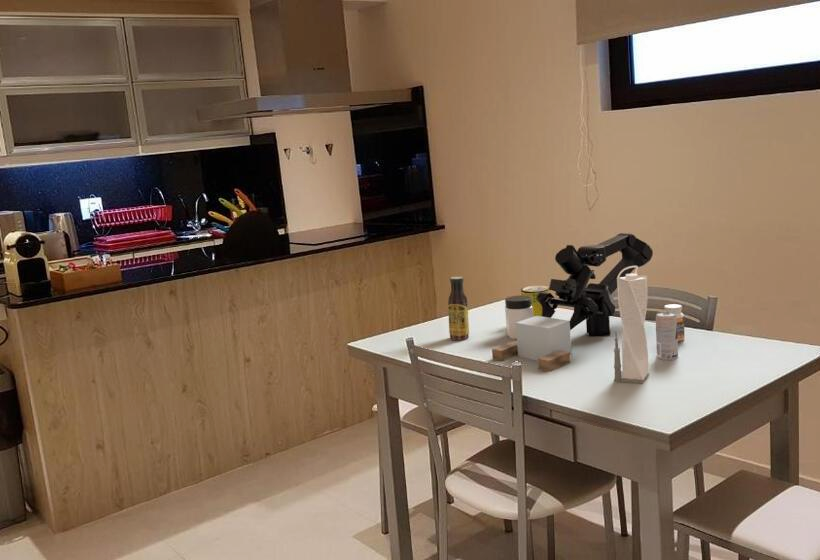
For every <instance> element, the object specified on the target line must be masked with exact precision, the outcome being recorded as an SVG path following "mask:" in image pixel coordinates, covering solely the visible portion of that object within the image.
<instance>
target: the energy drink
mask: <svg viewBox="0 0 820 560" xmlns="http://www.w3.org/2000/svg"><path fill="white" fill-rule="evenodd" d="M655 339H656V340H655V341H656V357H657V358H658V359H659V360H662V361H672V360H677V358H679V357H678V356H679V347H678V346H679V343H678V342H679V341H678V338H677V316H676V313H673V312H666V311H662V312H661V311H660V312H657V313H656V315H655Z"/></svg>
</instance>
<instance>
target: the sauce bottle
mask: <svg viewBox="0 0 820 560" xmlns="http://www.w3.org/2000/svg"><path fill="white" fill-rule="evenodd" d="M449 282H450V288H451V290H450V294H449V296H448V299H447V300H448V302H447V303H448V305H447V308H448V309H447V310H448V315H447V316H448V331H449V338H450V339H451V340H452V341H464V340H467V339H468V338H469V336H470V327H469V326H470V325H469V307H468V298H467V296H466V294H465V293H464V278H463V276H450V281H449Z"/></svg>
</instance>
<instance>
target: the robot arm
mask: <svg viewBox="0 0 820 560" xmlns="http://www.w3.org/2000/svg"><path fill="white" fill-rule="evenodd" d="M618 252H619V253H621V259H620V260H619V261H618V263H617V264H616V265H615V266H614V267H613V268H612V269H611V270H609V272H608V273H607V275H605V276H604V277H603V279H601V281H600V282H599V283H594V282H593V283H591V282H589V281H590V279H591V280H596V274H595V270H594V269H591V268H590V267H597V268H598V267H600V266H602V265H603V264H604V263H605V262H606V261H607V258H608V257H609V256H612V255H614V254H616V253H618ZM653 255H654V254H653V248H652V247H651V246H650V245H649V244H648V243H647V242H645V241H643V240H641V239H639V238H637V236H636V235H634V234H633V233H624V232H623V233H622V232H621V233H618V234H616V235H615V236H613V237H611V238H609V239H607V240H605V241H601V242H600V243H598V244H589V245H582V246H579V248H578V249H576V247H575V246H574V245H573V244H567V245H566V246H565V247H564V248H562V249H560V250H559V251H558V252H557V253H556V255H555V258H554V260H555V263H557V264H558V266H560V268H561V269H562V271H564V273H565V274H567V275H569V276H568V278H566V279H564V280H563V279H555V278H554V279H553V278H551V279H550V282H549V286H548V287H549V291H553V292H555V296H556V297H555V296H554V295H553V294H552V293H551V292H549V293H546V292H540V293H539V294H538V296H537V298H536V299H537V300H538V302H539V303H540V304H541V305H542V317H548V318H553V316H554V315H555V313H556V312H557V311H556V309H557V308H558V306H561V307H568V308H573V313H572V315H571V317H570V319H569V321H570V331H572V330H573V329H574V328H575V327H577V326H579V324H581V323H583V322H584V321H586V322H585V325H586V333H587V334H588V335H587V336H588V337H601V336H603V337H605V336H607V337H608V336H611V325H610V321H611V320H610V317H612V316H613V315H614V314H615V313H616V306H615V305H614V303H613V302H612V294H613V293H614V292H615V291H616V290H618V288H617V277H618V275H619V273H620V272H621V271H622V270H623V269H624V268H626V267H629V266H638V268H641V267H643V266H645V265H647V264H648V263H649V262H650V261H651V260H652V257H653ZM634 270H636V268H629V269H626V270H624V271H623V272H622V273H621V274H620V276H619V278H620V277H626V274H631V273H632V272H634ZM557 297H558V298H557Z"/></svg>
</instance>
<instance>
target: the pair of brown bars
mask: <svg viewBox="0 0 820 560" xmlns="http://www.w3.org/2000/svg"><path fill="white" fill-rule="evenodd" d="M491 354H492V360H496V361H499V362H500V361H501V362H503V361H505V359H506V360H508V359H511V358H514V357H516V356H518V347H517V341H513V340H512V341H511V342H507V343H504V344H502V345H499V346H496V347H493V348H491ZM537 361H538V364H537V365H538V370H540V371H543V372H549V373H550V372H552V371H554V370H556V369H559V368H561V367H564V366H566V365H568V364H570V363H571V355H570V352H566V351H561V350H559V351H556V352H554V353H551V354H549V355H546V356H544V357H541V358H539V359H538V360H537Z"/></svg>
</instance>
